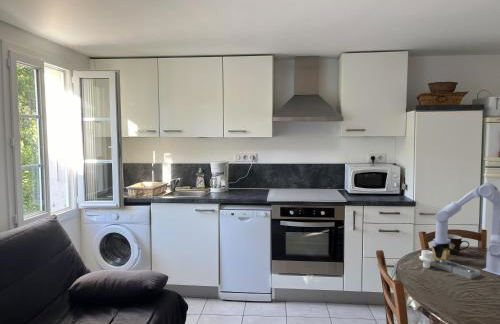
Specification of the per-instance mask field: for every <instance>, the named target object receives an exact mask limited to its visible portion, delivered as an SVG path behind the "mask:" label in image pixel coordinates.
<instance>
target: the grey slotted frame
mask: <svg viewBox="0 0 500 324" xmlns="http://www.w3.org/2000/svg"><path fill="white" fill-rule="evenodd" d="M433 262H434V263H433V267H435V268H438V269H441V270H443V271H447V272H449V273H452V274H454V275H457V276H460V277H464V278H467V279H468V280H469V279H470V280H473V279H474V278H476V277H480V275H481V270H479V269H476V268H473V267H470V266H466V265H463V264H460V263H457V262H454V261H450V260H449V261H448V260H445V259H442V260H439V261H438V260H435V261H433Z"/></svg>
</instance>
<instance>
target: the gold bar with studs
mask: <svg viewBox="0 0 500 324" xmlns="http://www.w3.org/2000/svg"><path fill="white" fill-rule="evenodd" d="M431 251H432V252H433V258H434V259H435V261H439V260H442V259H445V260H448V261H450V255H449V253H450V250H448V249H447V248H443V250H442V254H441V258H437V257H436V254H435V250H434V248H433V246H432V247H431Z"/></svg>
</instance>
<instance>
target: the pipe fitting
mask: <svg viewBox="0 0 500 324" xmlns="http://www.w3.org/2000/svg"><path fill="white" fill-rule="evenodd" d="M418 259H419V260H420V261H421V262H422V267H423V268H426V269H429V268H430V267H431V263H432V262H436V260H435V259H434V258H433V252H432V250H428V249H422V250H421V255H419V257H418Z"/></svg>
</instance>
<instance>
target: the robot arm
mask: <svg viewBox="0 0 500 324" xmlns="http://www.w3.org/2000/svg"><path fill="white" fill-rule="evenodd" d="M481 197H483V198H484V199H486V200H488V201H489V202H490V203H492V205H493V206H492V219H491V231H490V233H491V234H490V238H489V239H490V240H489V243H488V244H487V248H486V249H487V250H486V258H485V260H486V263H485V264H486V265H485V267H484V268H482V270H481V271H483V272H487V273H490V274H494V275H497V276H500V190H499V189H498V187H497V186H496V185H494V184H493V183H491V182H484V183H483V184H481V185H480V186H477V187H476V188H473V189H472V190H470V191H469V192H468V193H466V194H465V195H464V196H462V197H461V198H460V199H459V200H457V201H454V200H453V201H449V202H447V205H446V206H444V207H441V208H440V210H439V211H437V212H436V213H435V217H434V218H435V220H436V221H435V233H434V234H435V236H434V237H435V238H433V239H432V240H433V241H431V242H430V243H431V246H432V247H433V248H434V250H435V254H436V257H437V258H441V254H442V250H443V248H447V249H448V247H449V246H450V245H449V244H447V243H450V239H448V238H447V234H449V233H448V232H449V230H448V229H449V228H448V227H449V225H448V224H449V223H448V222H449V219H450V218H452V217H453V216H455V215H456V214H458V213H459V212H460V211H461V210H462V206H464V205H466V204H467V203H468V202H470V201H472V200H473V199H474V198H481Z"/></svg>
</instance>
